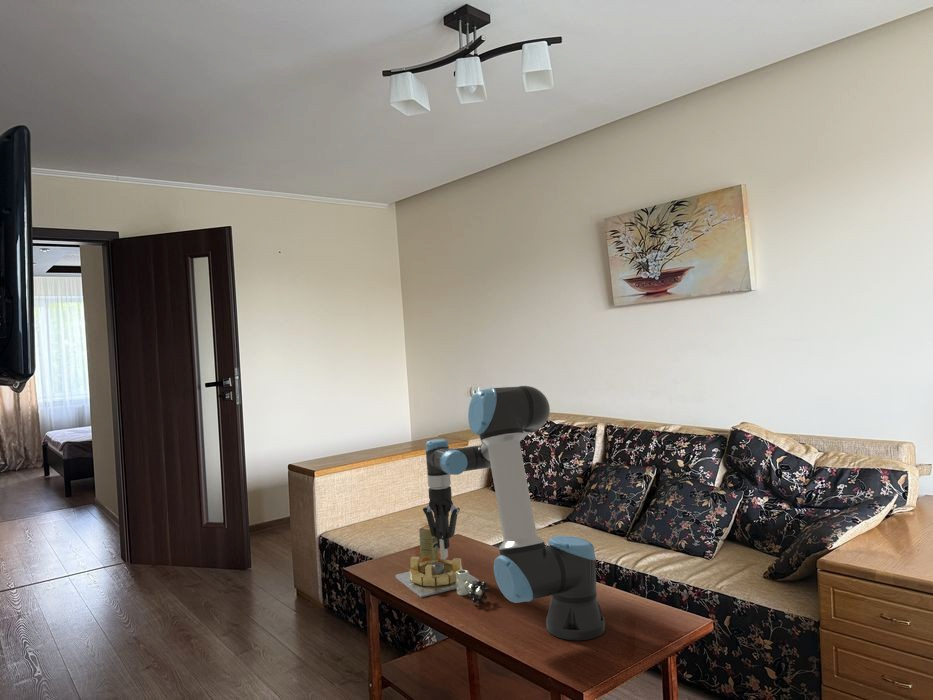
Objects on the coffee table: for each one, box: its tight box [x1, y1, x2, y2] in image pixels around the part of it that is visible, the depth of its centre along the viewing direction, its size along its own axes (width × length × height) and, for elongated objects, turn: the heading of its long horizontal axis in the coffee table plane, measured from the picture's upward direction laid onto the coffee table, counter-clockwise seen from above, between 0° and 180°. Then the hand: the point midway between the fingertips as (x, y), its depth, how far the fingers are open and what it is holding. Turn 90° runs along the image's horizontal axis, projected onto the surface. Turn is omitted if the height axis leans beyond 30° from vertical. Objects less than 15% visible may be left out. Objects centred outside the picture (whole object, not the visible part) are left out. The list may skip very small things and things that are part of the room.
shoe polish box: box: [418, 524, 440, 563], centre depth 223 cm, size 5×5×12 cm
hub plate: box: [395, 562, 479, 598], centre depth 206 cm, size 20×20×5 cm
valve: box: [456, 569, 490, 604], centre depth 191 cm, size 7×7×12 cm
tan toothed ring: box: [409, 550, 463, 586], centre depth 206 cm, size 16×16×6 cm
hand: (444, 558), depth 212 cm, fingers closed
